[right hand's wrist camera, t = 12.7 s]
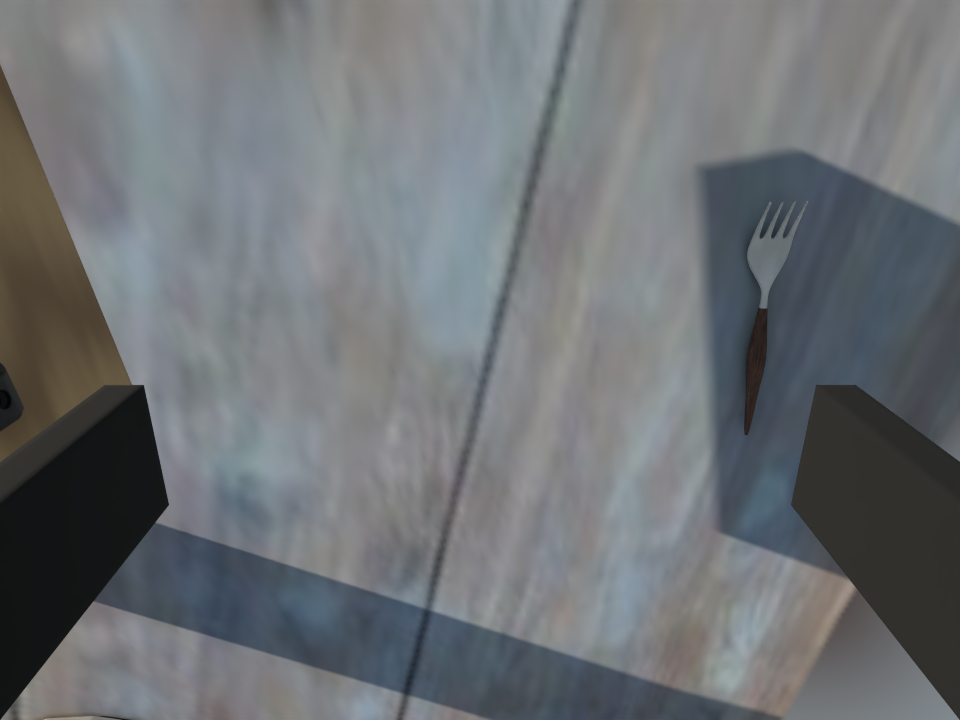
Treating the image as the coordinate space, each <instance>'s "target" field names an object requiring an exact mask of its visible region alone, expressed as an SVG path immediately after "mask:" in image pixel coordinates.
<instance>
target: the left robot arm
mask: <svg viewBox="0 0 960 720" xmlns="http://www.w3.org/2000/svg"><path fill="white" fill-rule="evenodd" d="M24 409H25V408H24V406H23V404H22V402H21V399H20V397H19V395H18V393H17V391H16V389H15V387H14V385H13V383H12V381H11V379H10V376H9V374H8V372H7V370H6V368H5V367H4V365H3V364H2V363H0V431H2V430H3V429H5V428H6V427H8V426H9V425H11V424H12V423H14V422H15V421H17V420H18V419H19V418H20V417H21V415H22V413H23V410H24Z"/></svg>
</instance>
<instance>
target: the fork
mask: <svg viewBox="0 0 960 720" xmlns="http://www.w3.org/2000/svg"><path fill="white" fill-rule="evenodd" d="M795 203H796V201H794V202H793V204H792V206H791V207H790V209H789V211H788V213H787V215H786V217H785V219H784V220H783V222H782V224H781V226H780V228H779V230H778V232H777V234H776V236H775V237H774V238H771V235H772V231H773V228H774V226H775V223H776V220H777V218H778V215H779V213H780V210H781V208H782V205H783V201H782V202H781V204H780V206H779V208H778V209H777V211H776V213H775V215H774V217H773V219H772V221H771V223H770V225H769V227H768V229H767V231H766V233H765V235H764V237H763V238H761V239H760V232H761V229H762V226H763V224H764V221H765V218H766V215H767V213H768V210H769V207H770V205H771V202H769V204H768V206H767V208H766V210H765V212H764V214H763V216H762V218H761V220H760V222H759V224H758V226H757V228H756V230H755V233H754V235H753V237H752V240H751V242H750V244H749V247H748V251H747V260H748V264H749V267H750V269H751V271H752V273H753V274H754V276H755V278H756V280H757V282H758V284H759V286H760V289H761V300H760V304H759V308H758V312H757V316H756V320H755V324H754V328H753V331H752V335H751V339H750V344H749V348H748V353H747V362H746V402H745V425H744V432H745V435H748V432H749V429H750V425H751V421H752V417H753V412H754V408H755V403H756V399H757V395H758V391H759V387H760V383H761V379H762V375H763V371H764V366H765V360H766V348H767V303H768V294H769V290H770V288H771V285H772V283H773V282H774V280H775V278H776V276H777V275H778V273H779V272H780V270H781V268H782V266H783V265H784V263H785V261H786V259H787V256H788V254H789V251H790V248H791V245H792V241H793V237H794V234H795V232H796V229H797V227H798V224H799V222H800V219H801V217H802V215H803V212H804V210H805V208H806V206H807V204H808V200H807V201H806V202H805V204H804V206H803V207H802V209H801V211H800V213H799V214H798V216H797V218H796V220H795V222H794V224H793V226H792V228H791V230H790V231H789V233H788V235H787V236H786V237H785V238H783V233H784V230H785V227H786V225H787V222H788V220H789V217H790V215H791V212H792V210H793V208H794V205H795Z"/></svg>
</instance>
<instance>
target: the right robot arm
mask: <svg viewBox="0 0 960 720" xmlns="http://www.w3.org/2000/svg"><path fill="white" fill-rule="evenodd" d="M168 505H169V503H168V498H167V494H166V489H165V484H164V479H163V474H162V470H161V465H160V460H159V455H158V451H157V446H156V441H155V436H154V432H153V427H152V422H151V417H150V413H149V408H148V403H147V398H146V394H145V389H144V385H104V386H103V387H101V388H100V389H99V390H97V391H96V392H94V393H93V394H92V395H90V396H89V397H88V398H86V399H85V400H84V401H82V402H81V403H80V404H78V405H77V406H75V407H74V408H73V409H71V410H70V411H69V412H67V413H66V414H65V415H63V416H62V417H61V418H59V419H58V420H56V421H55V422H54V423H52V424H51V425H50V426H48V427H47V428H46V429H44V430H43V431H42V432H40V433H39V434H37V435H36V436H35V437H33V438H32V439H31V440H29V441H28V442H27V443H25V444H24V445H23V446H21V447H20V448H18V449H17V450H16V451H14V452H13V453H12V454H10V455H9V456H8V457H6V458H5V459H4V460H2V461H1V462H0V719H1V718H2V717H3V716H4V714H5V713H6V712H7V710H8V709H9V708H10V707H11V705H12V704H13V703H14V702H15V700H16V699H17V698H18V696H19V695H20V694H21V693H22V691H23V690H24V689H25V688H26V686H27V685H28V684H29V682H30V681H31V680H32V679H33V677H34V676H35V675H36V674H37V672H38V671H39V670H40V668H41V667H42V666H43V665H44V663H45V662H46V661H47V660H48V658H49V657H50V656H51V654H52V653H53V652H54V651H55V649H56V648H57V647H58V646H59V644H60V643H61V642H62V640H63V639H64V638H65V637H66V635H67V634H68V633H69V632H70V630H71V629H72V628H73V626H74V625H75V624H76V623H77V621H78V620H79V619H80V617H81V616H82V615H83V614H84V612H85V611H86V610H87V609H88V607H89V606H90V605H91V603H92V602H93V601H94V600H95V598H96V597H97V596H98V595H99V593H100V592H101V591H102V589H103V588H104V587H105V586H106V584H107V583H108V582H109V581H110V579H111V578H112V577H113V575H114V574H115V573H116V572H117V570H118V569H119V568H120V567H121V565H122V564H123V563H124V561H125V560H126V559H127V558H128V556H129V555H130V554H131V553H132V551H133V550H134V549H135V547H136V546H137V545H138V544H139V542H140V541H141V540H142V538H143V537H144V536H145V535H146V533H147V532H148V531H149V530H150V528H151V527H152V526H153V524H154V523H155V522H156V521H157V519H158V518H159V517H160V516H161V514H162V513H163V512H164V510H165V509H166V508H167V507H168ZM791 505H792V507H793V508H794V509H795V510H796V512H797V513H798V514H799V516H800V517H801V518H802V519H803V521H804V522H805V523H806V524H807V526H808V527H809V528H810V530H811V531H812V532H813V533H814V535H815V536H816V537H817V538H818V540H819V541H820V542H821V544H822V545H823V546H824V547H825V549H826V550H827V551H828V553H829V554H830V555H831V556H832V558H833V559H834V560H835V561H836V563H837V564H838V565H839V567H840V568H841V569H842V570H843V572H844V573H845V574H846V575H847V577H848V578H849V579H850V581H851V582H852V583H853V584H854V586H855V587H856V588H857V589H858V591H859V592H860V593H861V595H862V596H863V597H864V598H865V600H866V601H867V602H868V603H869V605H870V606H871V607H872V609H873V610H874V611H875V612H876V614H877V615H878V616H879V617H880V619H881V620H882V621H883V623H884V624H885V625H886V626H887V628H888V629H889V630H890V632H891V633H892V634H893V635H894V637H895V638H896V639H897V640H898V642H899V643H900V644H901V646H902V647H903V648H904V649H905V651H906V652H907V653H908V654H909V656H910V657H911V658H912V660H913V661H914V662H915V663H916V665H917V666H918V667H919V668H920V670H921V671H922V672H923V674H924V675H925V676H926V677H927V679H928V680H929V681H930V682H931V684H932V685H933V686H934V688H935V689H936V690H937V691H938V693H939V694H940V695H941V696H942V698H943V699H944V700H945V701H946V703H947V704H948V705H949V707H950V708H951V709H952V710H953V712H954V713H955V714H956V715H957V717H958V718H959V719H960V462H959V461H958V460H956V459H955V458H954V457H952V456H951V455H950V454H948V453H947V452H946V451H944V450H943V449H942V448H940V447H939V446H937V445H936V444H935V443H933V442H932V441H931V440H929V439H928V438H927V437H925V436H924V435H923V434H921V433H920V432H918V431H917V430H916V429H914V428H913V427H912V426H910V425H909V424H908V423H906V422H905V421H904V420H902V419H901V418H899V417H898V416H897V415H895V414H894V413H893V412H891V411H890V410H889V409H887V408H886V407H885V406H883V405H882V404H880V403H879V402H878V401H876V400H875V399H874V398H872V397H871V396H870V395H868V394H867V393H866V392H864V391H863V390H861V389H860V388H859V387H857V386H856V385H816V389H815V394H814V398H813V403H812V408H811V413H810V417H809V422H808V427H807V432H806V436H805V441H804V446H803V451H802V455H801V460H800V465H799V470H798V474H797V479H796V484H795V489H794V494H793V498H792V503H791Z"/></svg>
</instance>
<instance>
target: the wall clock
mask: <svg viewBox="0 0 960 720" xmlns="http://www.w3.org/2000/svg"><path fill="white" fill-rule="evenodd" d="M44 720H120V719H112V718H105V717H97V716H83V717H65V718H48V719H44Z"/></svg>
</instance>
